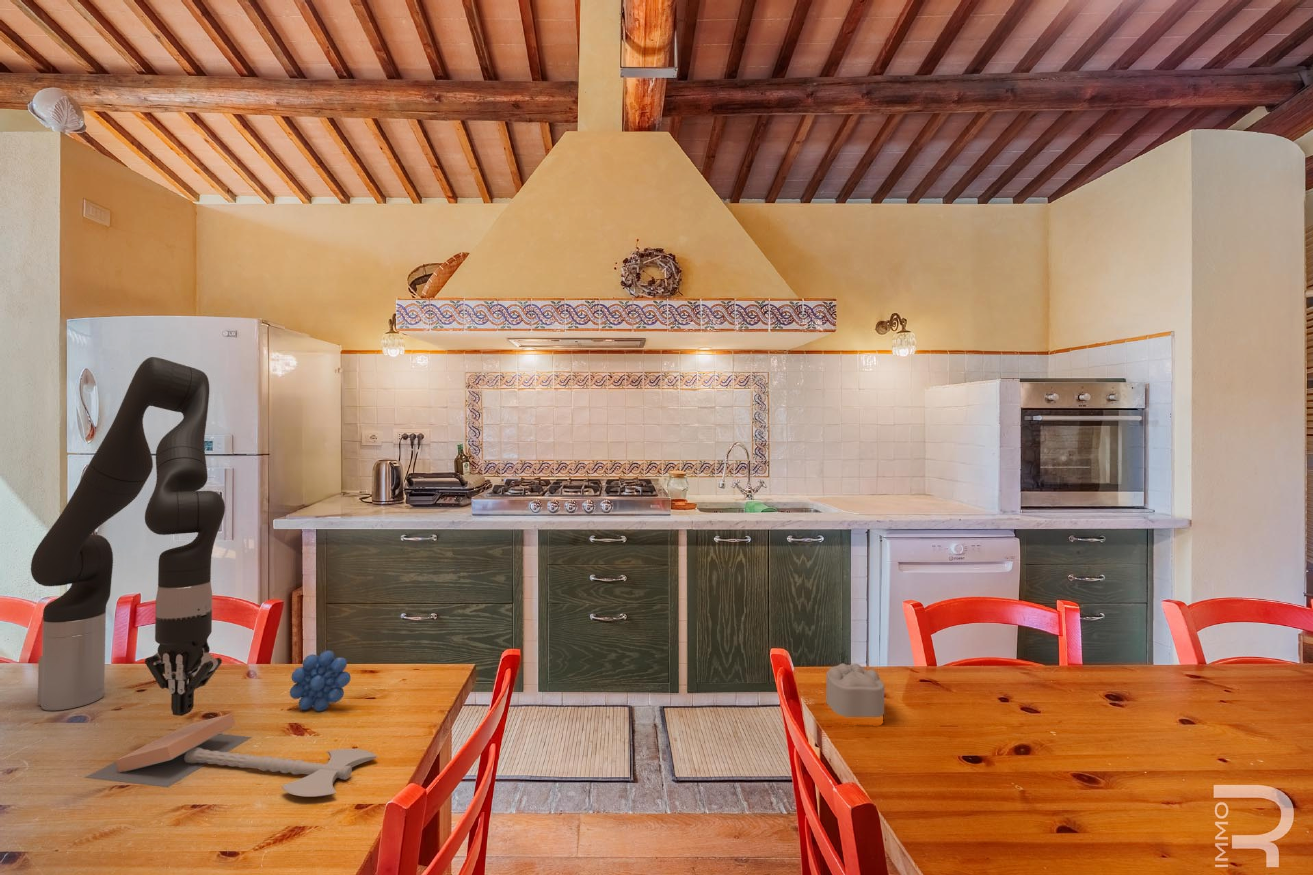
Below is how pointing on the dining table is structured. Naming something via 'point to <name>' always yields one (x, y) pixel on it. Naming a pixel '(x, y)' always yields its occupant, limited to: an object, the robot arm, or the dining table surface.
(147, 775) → the mat
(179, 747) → the tile
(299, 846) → the dining table surface
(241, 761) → the double-bladed axe
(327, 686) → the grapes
